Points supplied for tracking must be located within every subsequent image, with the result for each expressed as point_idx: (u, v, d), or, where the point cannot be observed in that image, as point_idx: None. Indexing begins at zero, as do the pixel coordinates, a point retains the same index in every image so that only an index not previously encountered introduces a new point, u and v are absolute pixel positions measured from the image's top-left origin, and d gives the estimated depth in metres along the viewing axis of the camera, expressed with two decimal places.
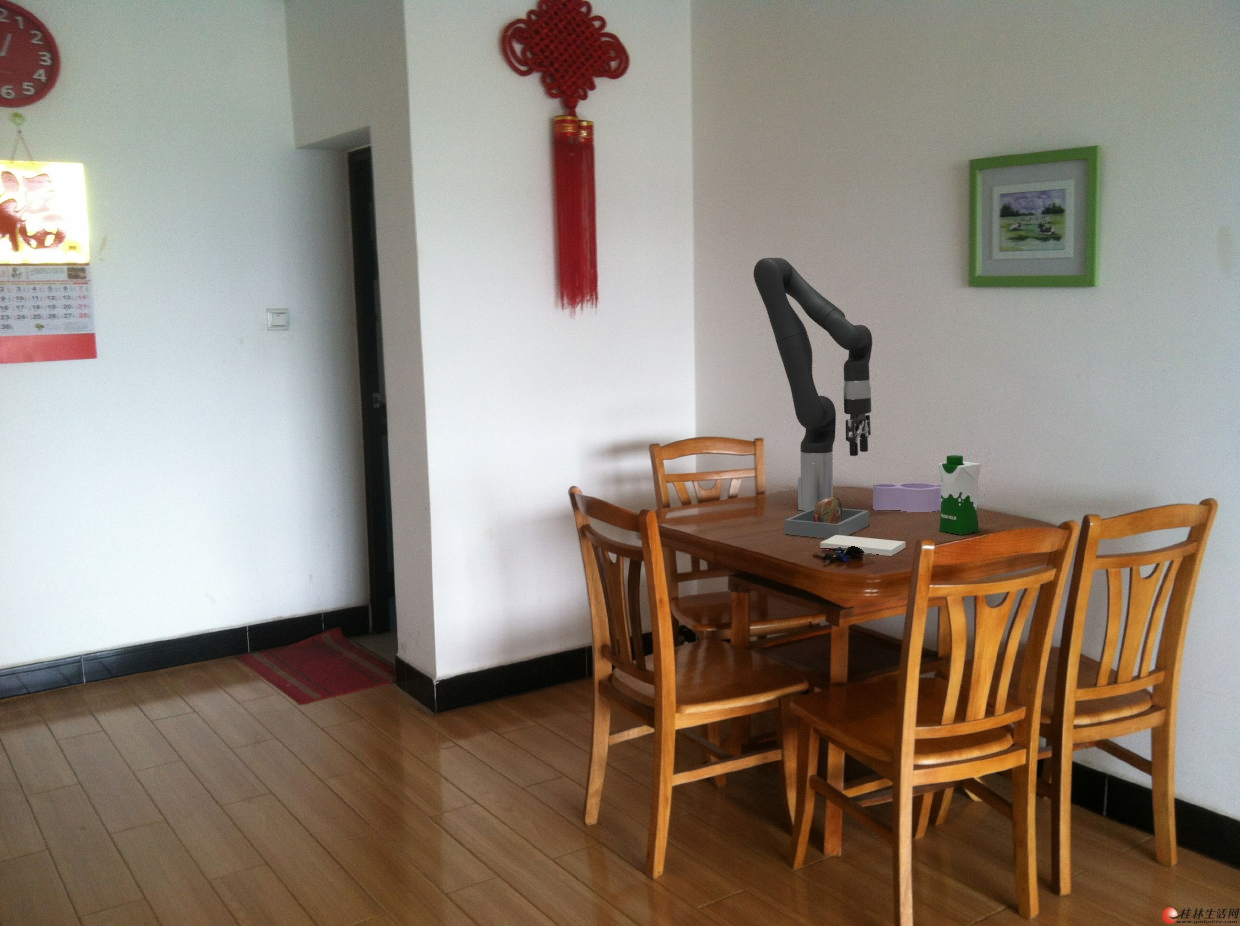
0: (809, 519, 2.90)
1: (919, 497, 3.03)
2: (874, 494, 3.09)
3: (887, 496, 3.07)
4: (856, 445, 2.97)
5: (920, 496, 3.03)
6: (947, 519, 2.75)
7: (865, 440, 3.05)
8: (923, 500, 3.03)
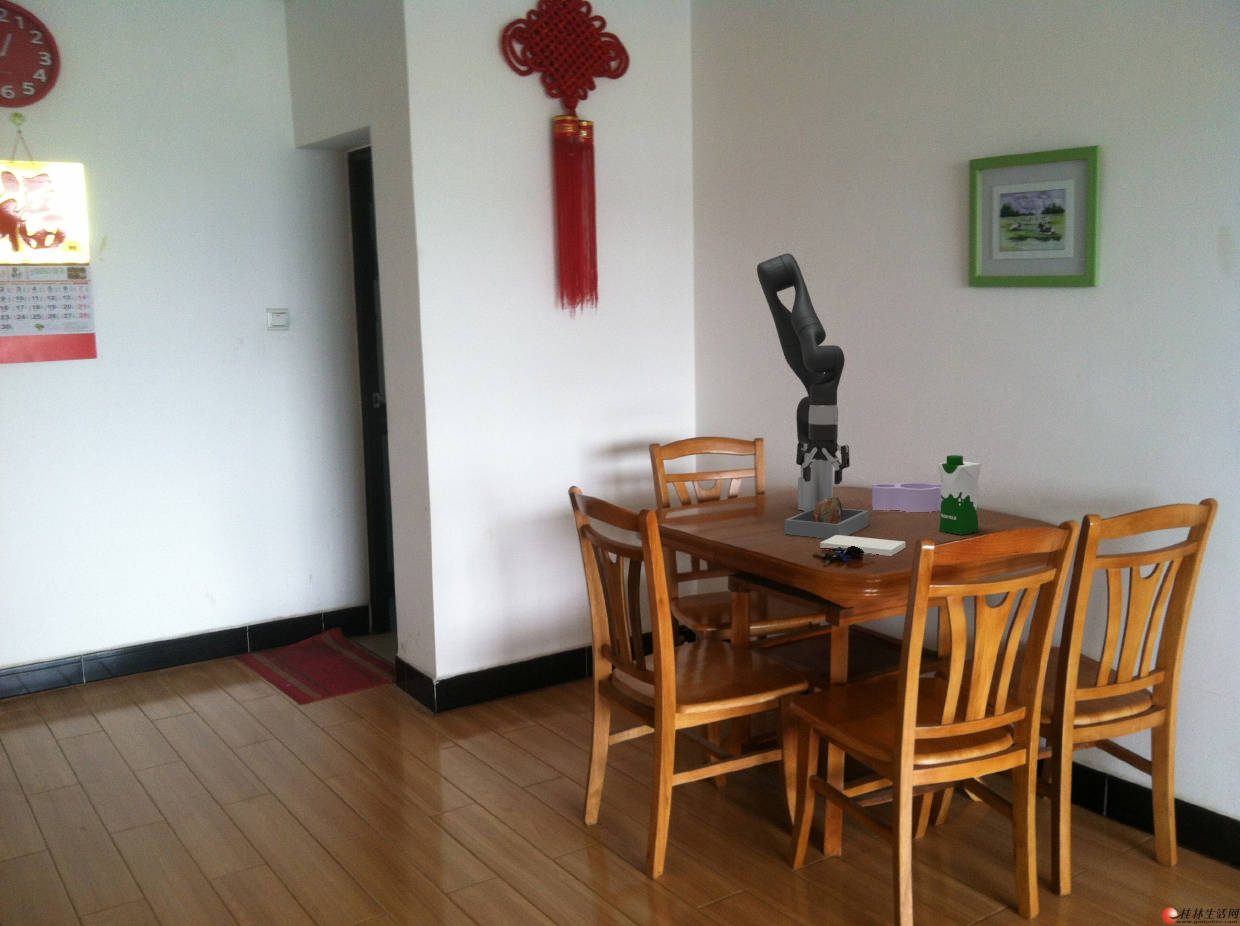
0: (809, 519, 2.90)
1: (919, 498, 3.03)
2: (874, 494, 3.09)
3: (887, 496, 3.07)
4: None
5: (920, 496, 3.03)
6: (947, 519, 2.75)
7: (810, 468, 2.85)
8: (923, 500, 3.03)
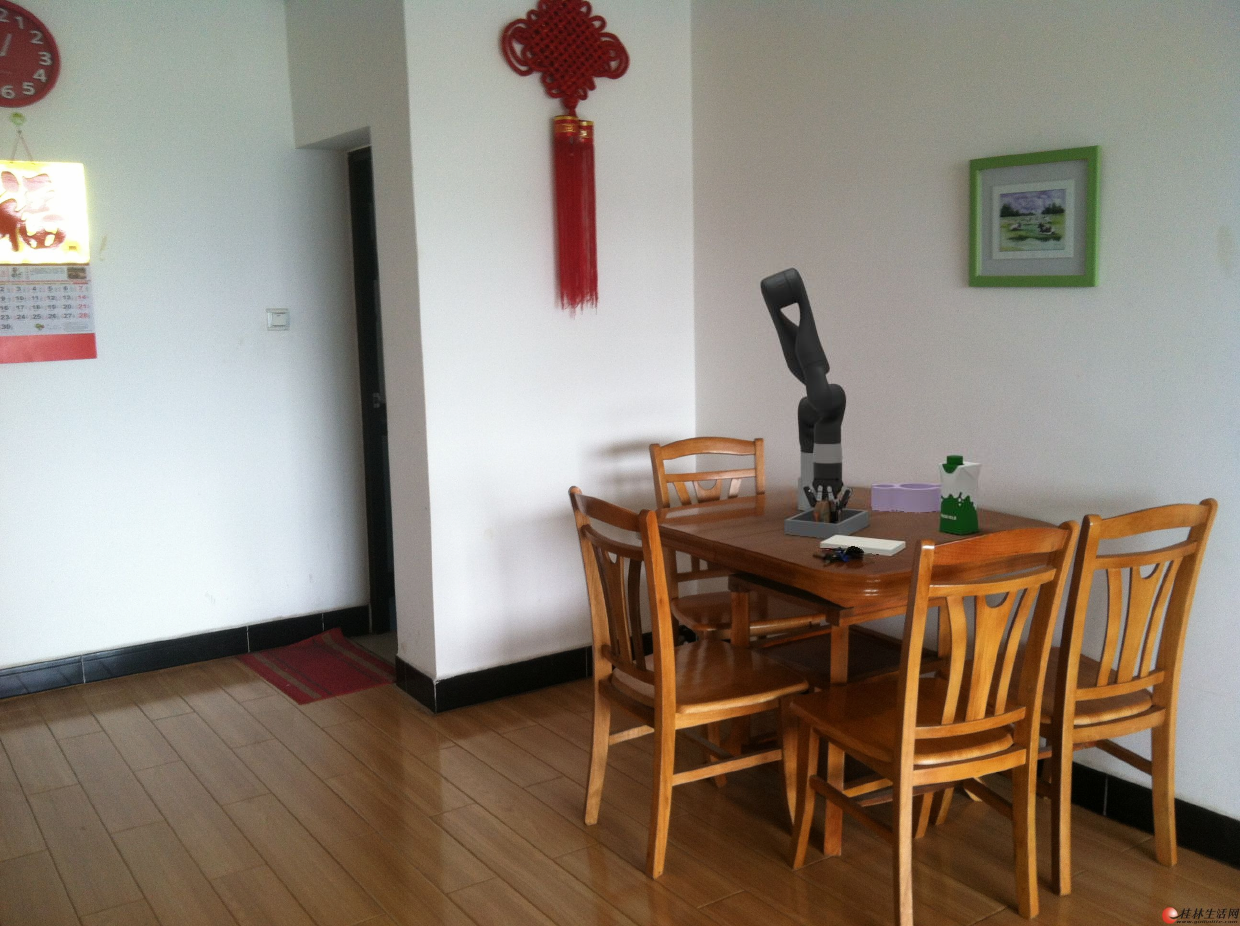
0: (809, 519, 2.90)
1: (919, 498, 3.03)
2: (873, 495, 3.09)
3: (886, 496, 3.07)
4: None
5: (919, 496, 3.03)
6: (947, 519, 2.75)
7: None
8: (922, 500, 3.03)
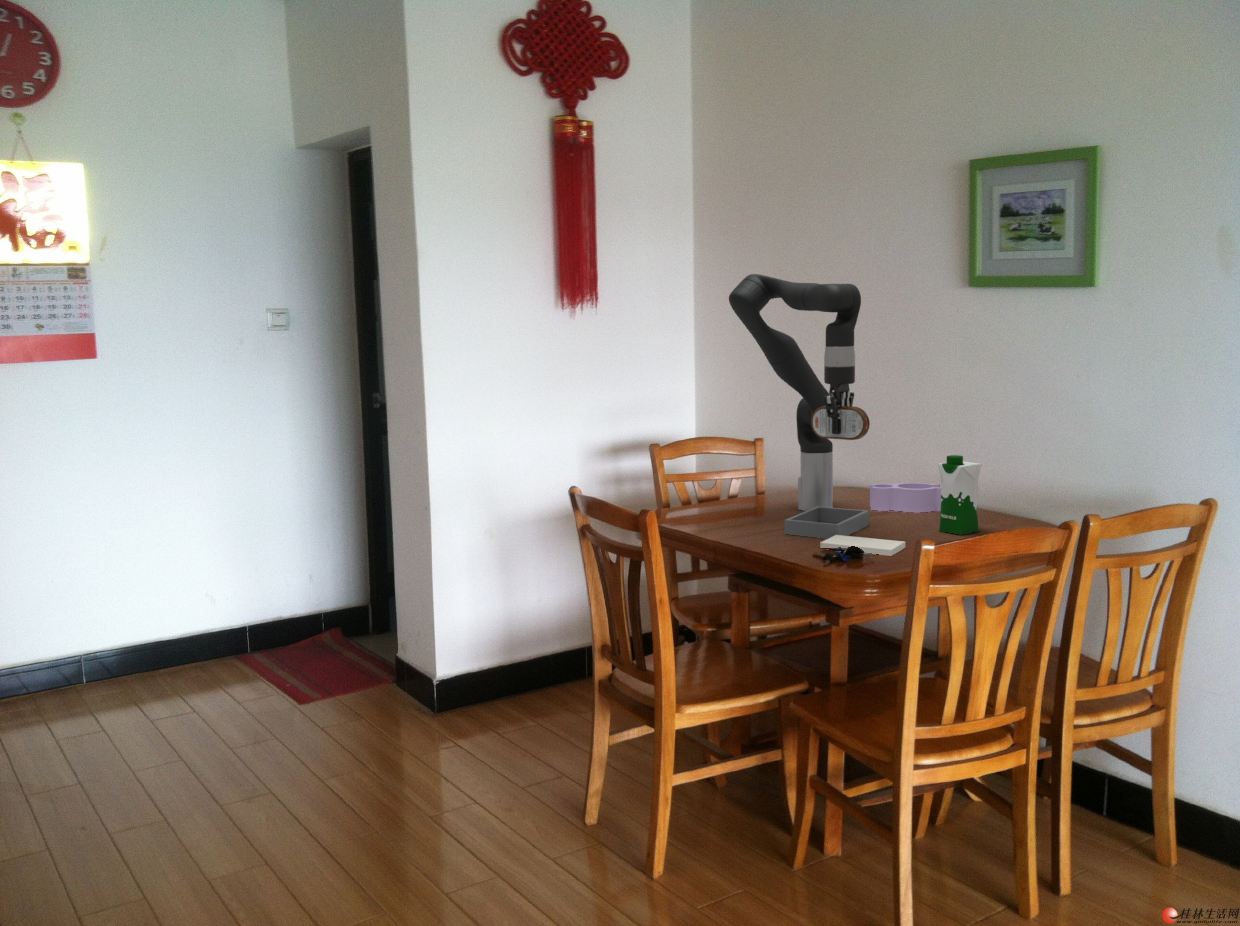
0: (809, 519, 2.90)
1: (917, 498, 3.03)
2: (872, 494, 3.09)
3: (885, 496, 3.07)
4: None
5: (918, 496, 3.03)
6: (947, 519, 2.75)
7: None
8: (921, 500, 3.03)
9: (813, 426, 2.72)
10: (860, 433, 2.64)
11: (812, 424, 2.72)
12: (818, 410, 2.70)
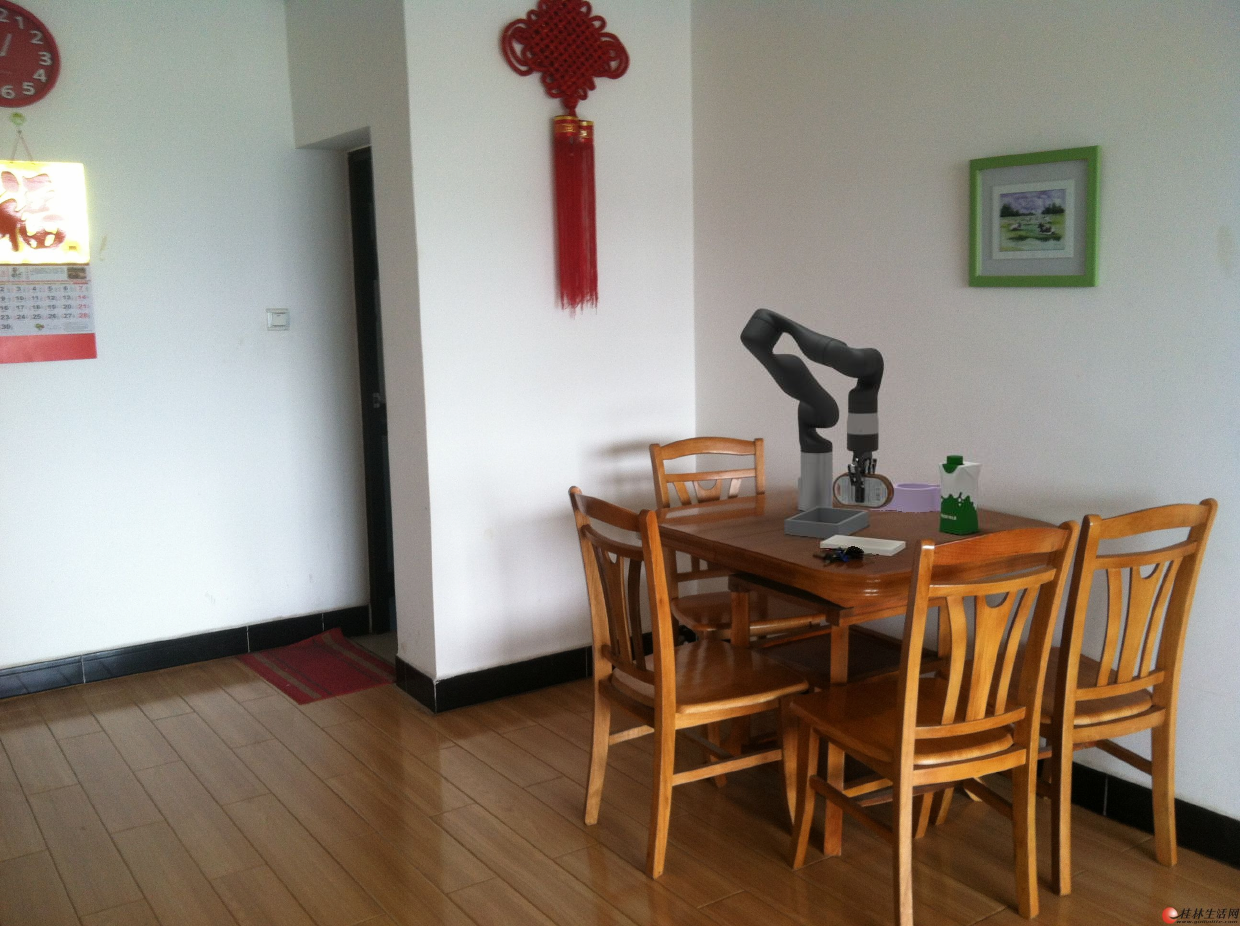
0: (809, 519, 2.90)
1: (916, 498, 3.03)
2: None
3: None
4: None
5: (916, 496, 3.03)
6: (947, 519, 2.75)
7: None
8: (920, 500, 3.03)
9: (835, 493, 2.63)
10: (884, 502, 2.56)
11: (834, 491, 2.63)
12: (840, 477, 2.62)
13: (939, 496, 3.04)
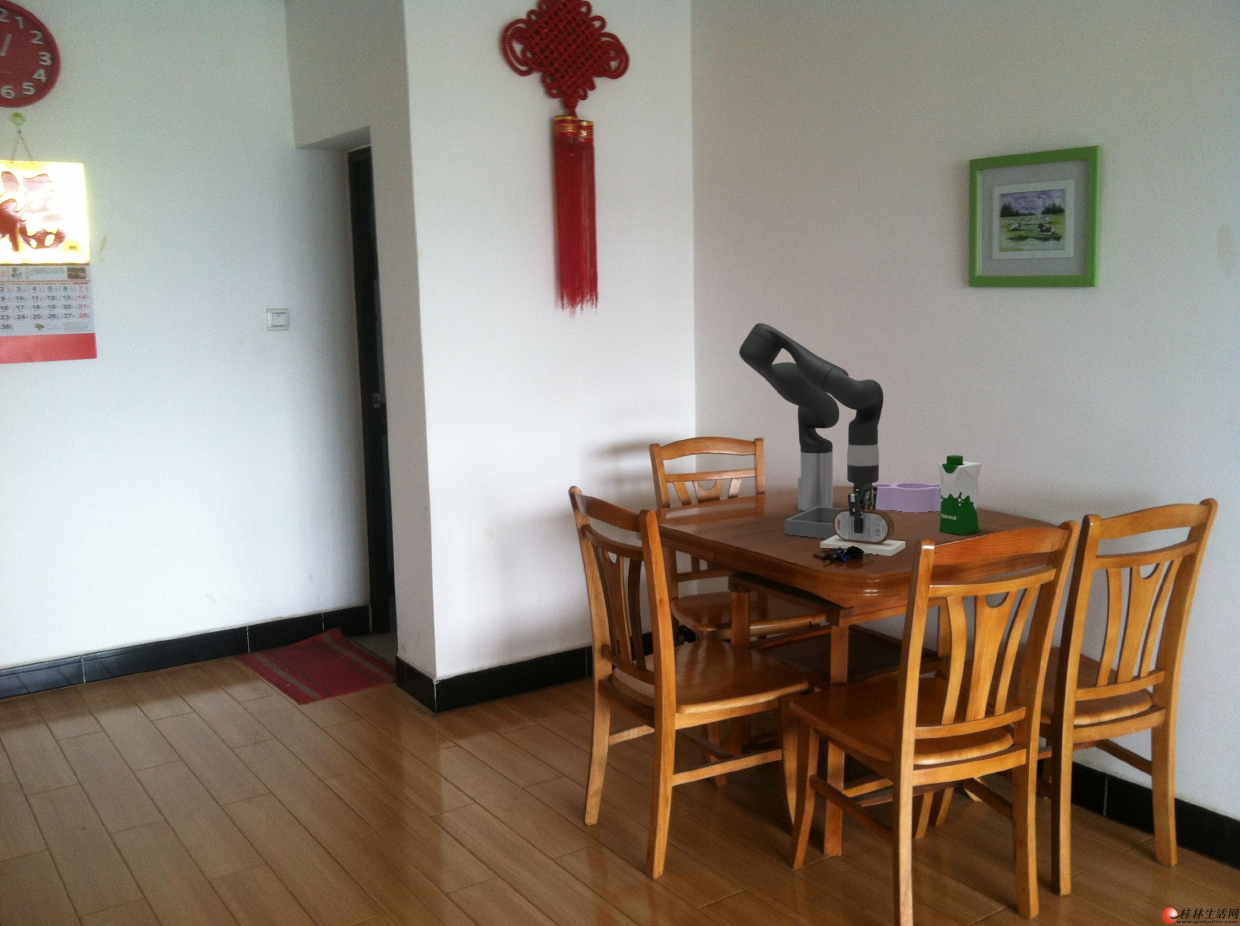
0: (809, 519, 2.90)
1: (914, 497, 3.03)
2: None
3: (882, 496, 3.07)
4: None
5: (915, 496, 3.03)
6: (947, 519, 2.75)
7: None
8: (918, 500, 3.03)
9: (835, 528, 2.64)
10: (884, 538, 2.58)
11: (834, 526, 2.65)
12: (840, 512, 2.63)
13: (938, 496, 3.04)
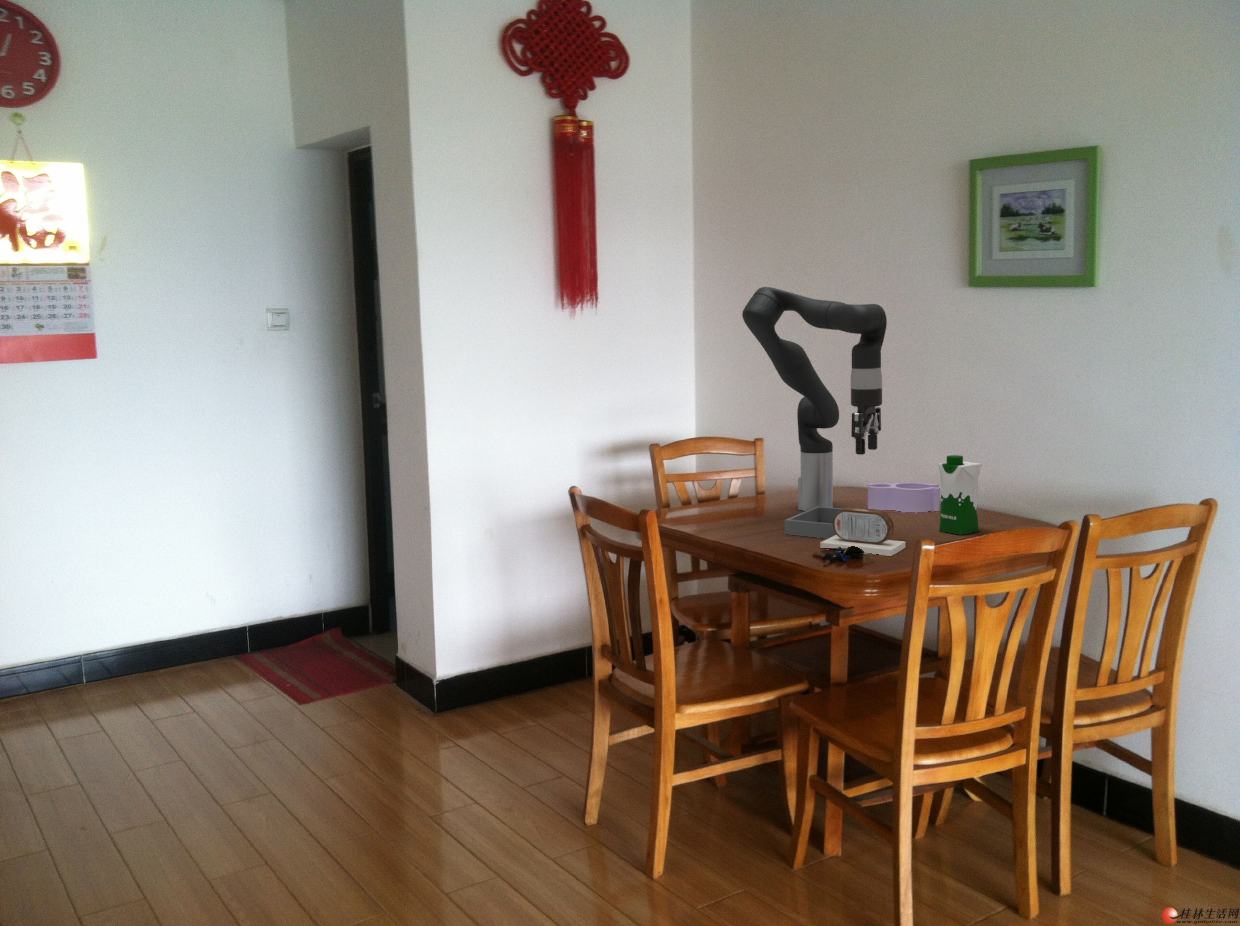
0: (809, 519, 2.90)
1: (913, 498, 3.03)
2: (869, 494, 3.10)
3: (881, 496, 3.07)
4: None
5: (914, 496, 3.03)
6: (947, 519, 2.75)
7: None
8: (917, 500, 3.03)
9: (835, 528, 2.64)
10: (884, 538, 2.57)
11: (834, 526, 2.64)
12: (840, 513, 2.63)
13: (937, 496, 3.04)
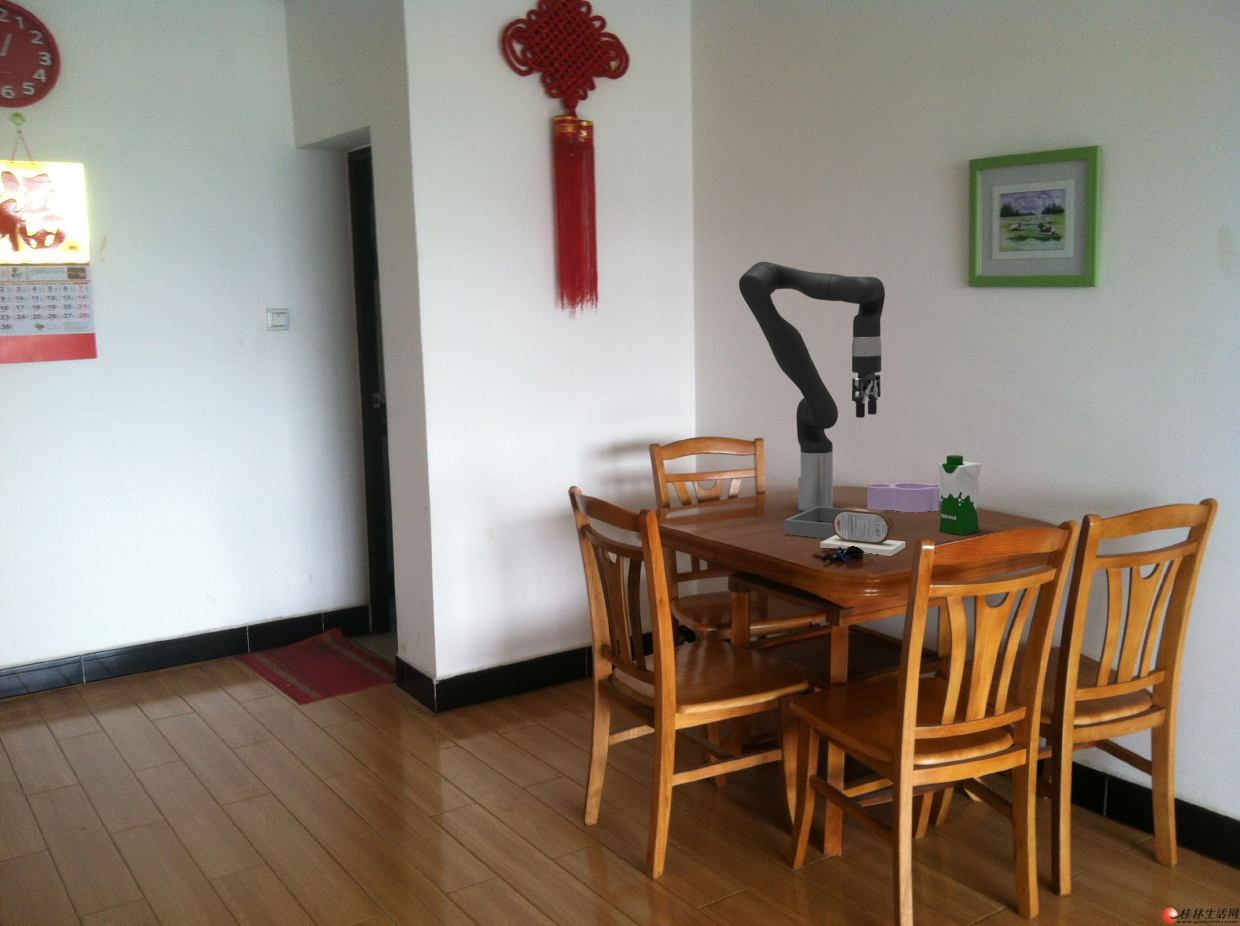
0: (809, 519, 2.90)
1: (913, 498, 3.03)
2: (868, 494, 3.10)
3: (881, 496, 3.08)
4: None
5: (913, 496, 3.03)
6: (947, 519, 2.75)
7: None
8: (916, 500, 3.03)
9: (835, 528, 2.64)
10: (884, 538, 2.57)
11: (834, 526, 2.64)
12: (840, 513, 2.63)
13: (936, 496, 3.04)
